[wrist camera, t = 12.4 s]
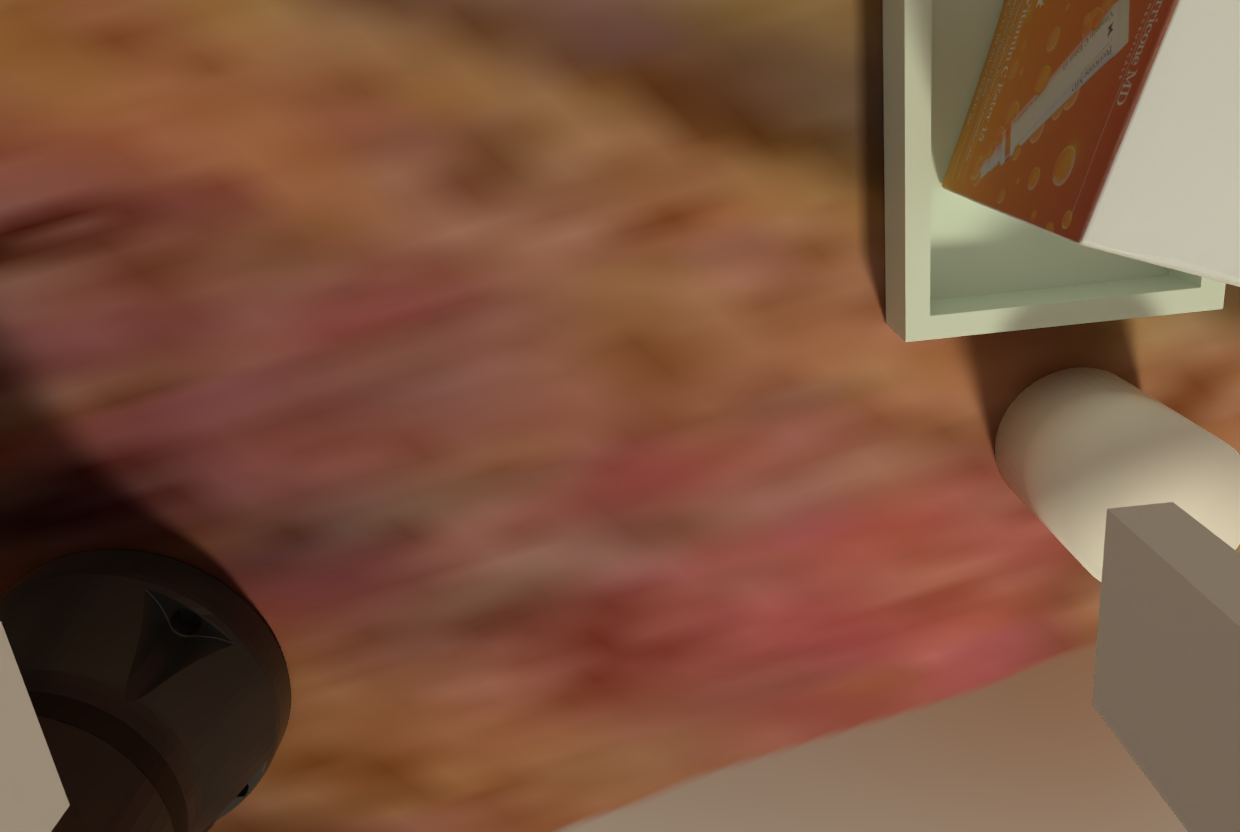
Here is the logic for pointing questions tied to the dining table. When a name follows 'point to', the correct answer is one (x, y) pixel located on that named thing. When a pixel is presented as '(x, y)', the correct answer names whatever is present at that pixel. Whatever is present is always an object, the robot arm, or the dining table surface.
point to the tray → (983, 207)
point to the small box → (1113, 128)
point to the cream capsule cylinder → (1111, 459)
